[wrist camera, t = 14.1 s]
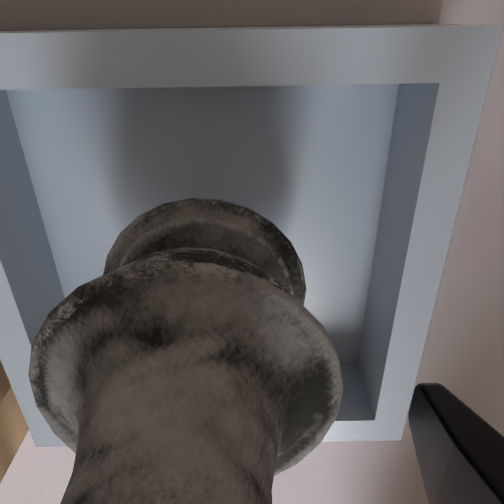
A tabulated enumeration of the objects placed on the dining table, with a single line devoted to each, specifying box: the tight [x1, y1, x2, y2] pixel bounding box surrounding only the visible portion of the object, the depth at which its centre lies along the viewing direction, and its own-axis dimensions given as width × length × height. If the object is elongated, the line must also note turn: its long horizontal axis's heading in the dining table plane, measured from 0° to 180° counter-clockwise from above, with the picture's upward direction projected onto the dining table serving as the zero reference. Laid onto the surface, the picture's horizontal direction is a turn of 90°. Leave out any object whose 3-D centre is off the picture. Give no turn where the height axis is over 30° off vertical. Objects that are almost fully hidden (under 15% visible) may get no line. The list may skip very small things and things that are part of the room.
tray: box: [0, 24, 503, 447], centre depth 12 cm, size 12×12×3 cm
